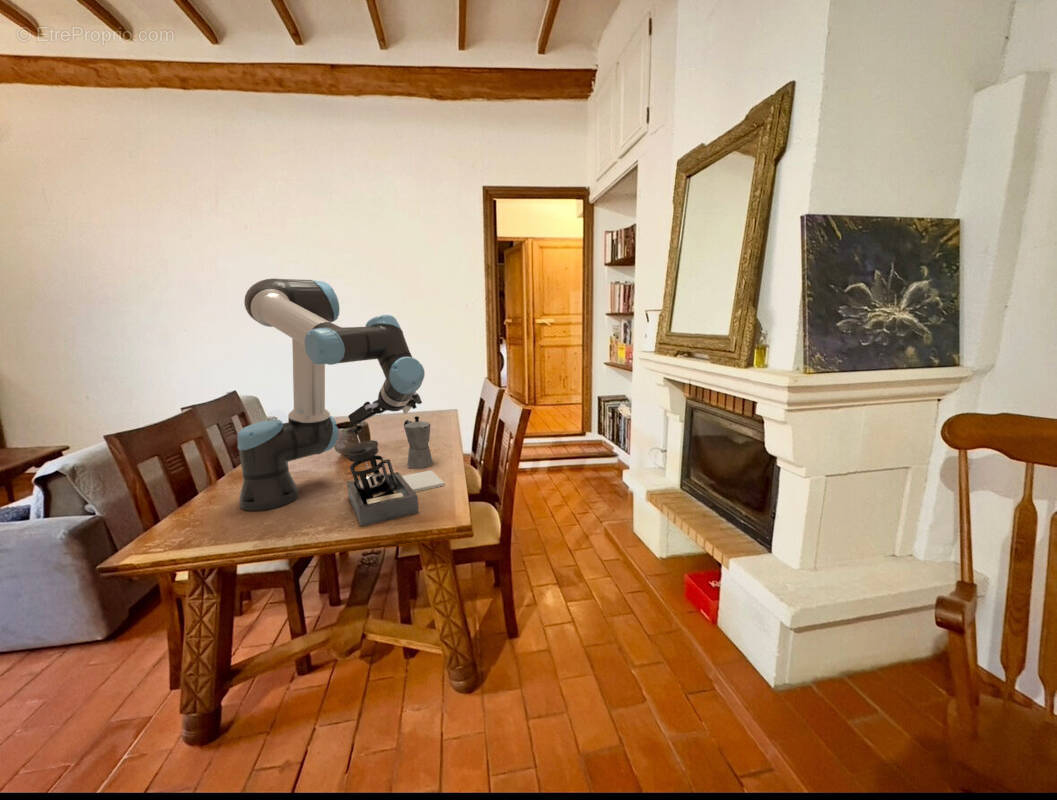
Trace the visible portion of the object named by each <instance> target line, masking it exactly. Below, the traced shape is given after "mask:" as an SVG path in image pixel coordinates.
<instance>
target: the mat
mask: <svg viewBox="0 0 1057 800" xmlns="http://www.w3.org/2000/svg"><path fill="white" fill-rule="evenodd" d="M401 476H402V477H403V479H404V480H405V481H406V482H407V483H408V485H409V486H410V487H411V488H412V489H413V491H414V492H415V493H418V491H419V492H423V491H428V490H432V489H436V487H437V488H441V487H440V486H442V487H445V486H446V484H445V481H444V480H443V479H441V478H440V476H438V475H437V474H436V473H435V472H434V471H433V470H430V469H429V470H426V471H420V472H417V473H416V472H415V473H410V474H405V475H404V474H403V475H401ZM444 485H445V486H444ZM431 488H432V489H431ZM427 489H428V490H427ZM422 490H423V491H422Z"/></svg>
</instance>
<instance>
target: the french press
mask: <svg viewBox="0 0 1057 800" xmlns="http://www.w3.org/2000/svg"><path fill="white" fill-rule="evenodd" d="M363 429H364V425H363V426H361V425H359V426H358V425H354V426H352V427H350V428H348V429H347V433H349V434H350V433H354V435H355V436H357V437H356V438H357V440H358V442H357V443H355V444H353V445H350V446H349V447H348V448H347V449H345V451H344V455H345V456H346V457H348V460H349V461H350V462H352V464H351V465H350V468H349V469H350V473H351V474H352V476H353V481H354V480H355V483H356V486H357V488H358V491H359V495H360V498H361V500H362V502H363V504H364V505H366V504H367V501H366V499H371V498H376V497H382V496H387V495H392V494H396V493H395V490H393V489H396V488H397V486H398V485H397V481H396V478H395V475H394V473H395V471H394V468H393V466H392V462H391V459H389V458H387V459H384V458H383V456H381V455H378V453H379V447H378V446H379V442H378V441H377V440H365V441H361V440H360V437H359V434H360V433H359V431H361V430H363ZM377 461H380V462H379V463H377ZM368 462H370V466H371V467H370V468H369V465H368ZM364 463H365V464H366V468H367V469H363V470H355V468H356V467H358V466H359V465H361V464H364ZM385 464H387V466H388V470H389V474H391V477H392V480H393V483H394V486H391V484H390V481H389V478H388V475H387V474H388V472H387V469H386V466H385ZM380 469H382V472H380ZM359 479H361V480H360V481H359ZM379 492H382V493H379ZM376 493H378V494H379V495H377V494H376ZM373 495H377V496H373Z"/></svg>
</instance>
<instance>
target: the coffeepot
mask: <svg viewBox="0 0 1057 800" xmlns="http://www.w3.org/2000/svg"><path fill="white" fill-rule="evenodd" d="M403 427H404V431H405V435H406V439H407V442H408V445H409V448H408V454H407V455H408V456H407V466H409V467H408V468H409V469H413V468H417V469H418V468H420V469H425V467H426V468H428V466H429V467H431V466H433V464H434V462H433V461H434V460H433V458H432V454H431V449H430V446H429V443H430V437H431V436H430V435H431V423H430V422H429V421H420V416H414V421H412V420H408V419H406V420H405V421H404V423H403ZM430 465H431V466H430ZM418 470H419V469H418Z"/></svg>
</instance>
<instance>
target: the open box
mask: <svg viewBox="0 0 1057 800" xmlns="http://www.w3.org/2000/svg"><path fill="white" fill-rule="evenodd" d="M387 475H388V478H389V481H390V484H391V486H394V483H393V480H392V477H391V473H387ZM394 475H395V478H396V481H397V485H398V486H397V488H396V490H395V489H393V491H396V492H397V493H402V495H403V497H398V498H394V499H389V500H384V501H380V502H375V503H371V504H366V505H364V504H363V502H362V500H361V498H360V495H359V491H358V488H357V486H356V483H355V480H354V479H353V480H350V481H346V483H347V484H346V485H347V494H348V499H349V502H350V501H351V502H350V504H351V507H352V506H353V507H352V509H353V511H354V514H355V513H356V514H355V516H356V519H357V518H358V519H357V520H358V523H359V526H360V527H361V528H362V527H365V526H369V525H373V524H379V523H382V522H386V521H390V520H393V519H398V518H402V517H407V516H411V515H415V514H419V512H420V511H419V510H420V509H419V498H418V497H419V496H418V494H417V492H414V491H413V489H412V488H411V487H410V486H409V485H408V483H407V482H406V481H405V480H404V479H403V477H402V476H403V475H401V474H400V472H398V471H397V472H394ZM358 480H359V481H360V480H361V479H360V478H358ZM378 494H381V493H380V492H379V493H378Z"/></svg>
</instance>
